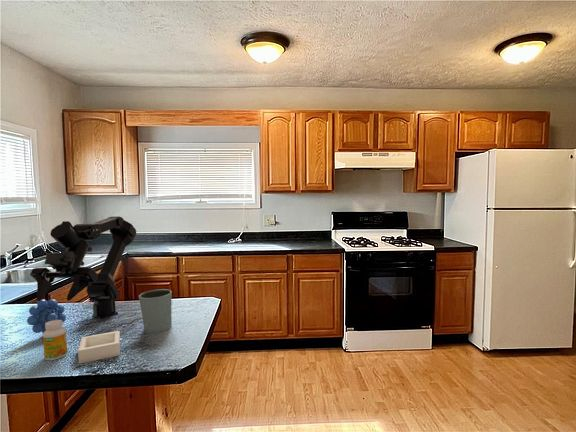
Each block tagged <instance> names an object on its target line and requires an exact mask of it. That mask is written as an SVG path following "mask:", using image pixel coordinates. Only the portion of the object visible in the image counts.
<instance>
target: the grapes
mask: <svg viewBox="0 0 576 432" xmlns="http://www.w3.org/2000/svg"><path fill="white" fill-rule="evenodd" d="M58 303H59V302H58V301H57V300H56V299H55V298H53V299H48V300H46V299H41V300H40V301H38V300H37V303H36V305H34V306H33V305H32V306H30V307H29V310H28V313H29V314H30V315H29V316H28V317H27V319H26V322H27V324H28V325H30V326H31V330H32V332H33V333H36V334H40V333H42V334H43V333H44V332H45V331H46V329H45V324H46V323H47V322H49V321H53V320H62V322H63V323H64V322H65V321H67V315H66V314H64V312H65V310H66V309H65V306H64V305H63V304H58Z"/></svg>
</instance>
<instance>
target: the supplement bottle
mask: <svg viewBox="0 0 576 432" xmlns="http://www.w3.org/2000/svg"><path fill="white" fill-rule="evenodd" d="M63 324H64V322H62V320H53V321H49V322H47V323H46V324H45V329H46V331H45V332H44V333H42V343H43V344H42V345H43V356H44V357H43V358H44V360H46V361H54V360H59V359H62V358H64V357H65V356H67V355H68V339H67V329H66V328H65V327H63V326H64V325H63Z"/></svg>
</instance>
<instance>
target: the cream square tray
mask: <svg viewBox="0 0 576 432" xmlns="http://www.w3.org/2000/svg"><path fill="white" fill-rule="evenodd" d="M120 334H121V333H120V330H115V331H110V332H105V333H98V334H93V335H86V336H82V337H81V340H80V343H79V347H78V349H77V355H78V364H83V363H88V362H93V361H98V360H103V359H108V358H112V357H118V356H121V336H120Z"/></svg>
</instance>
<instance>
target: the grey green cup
mask: <svg viewBox="0 0 576 432" xmlns="http://www.w3.org/2000/svg"><path fill="white" fill-rule="evenodd" d="M172 293H173V292H172V290H171V289H166V288H161V289H158V288H157V289H151V290H148V291H144V292H141V293H140V294H139V295H138V299H139V305H140V312H141V317H142V324H143V331H144V332H145V333H146V334H153V335H154V334H160V333H165V332H167V331H169V330H171V328H172V325H173V324H172V311H173V310H172V304H173V303H172V302H173V301H172V298H173V297H172V296H173V295H172Z"/></svg>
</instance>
